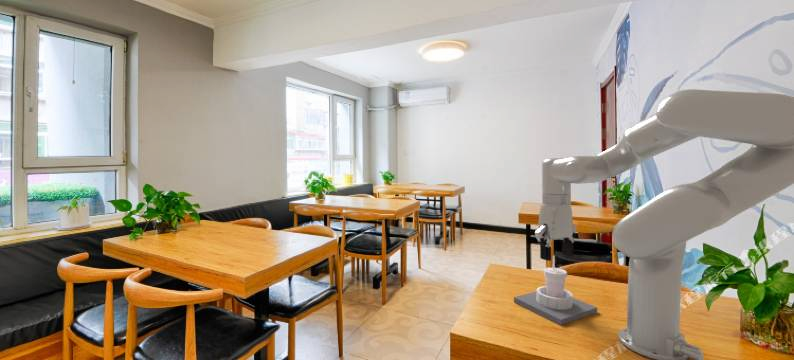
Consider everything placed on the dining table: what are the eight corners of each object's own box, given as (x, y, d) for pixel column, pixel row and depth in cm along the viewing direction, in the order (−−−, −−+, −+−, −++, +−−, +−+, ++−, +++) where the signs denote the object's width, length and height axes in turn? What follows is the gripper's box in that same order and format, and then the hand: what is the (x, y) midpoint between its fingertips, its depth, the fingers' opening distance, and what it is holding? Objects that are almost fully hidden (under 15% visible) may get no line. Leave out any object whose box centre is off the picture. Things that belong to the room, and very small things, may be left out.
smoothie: (553, 296, 97) (554, 252, 97) (571, 305, 91) (572, 258, 91) (538, 299, 95) (538, 254, 94) (555, 308, 89) (556, 260, 89)
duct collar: (597, 312, 90) (597, 297, 90) (560, 325, 83) (561, 308, 83) (548, 292, 104) (548, 279, 104) (513, 301, 97) (514, 287, 97)
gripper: (563, 197, 99) (564, 251, 100) (525, 200, 91) (525, 258, 92) (587, 199, 93) (587, 256, 93) (547, 202, 85) (548, 264, 85)
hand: (556, 257), depth 92 cm, fingers open, 9 cm apart
